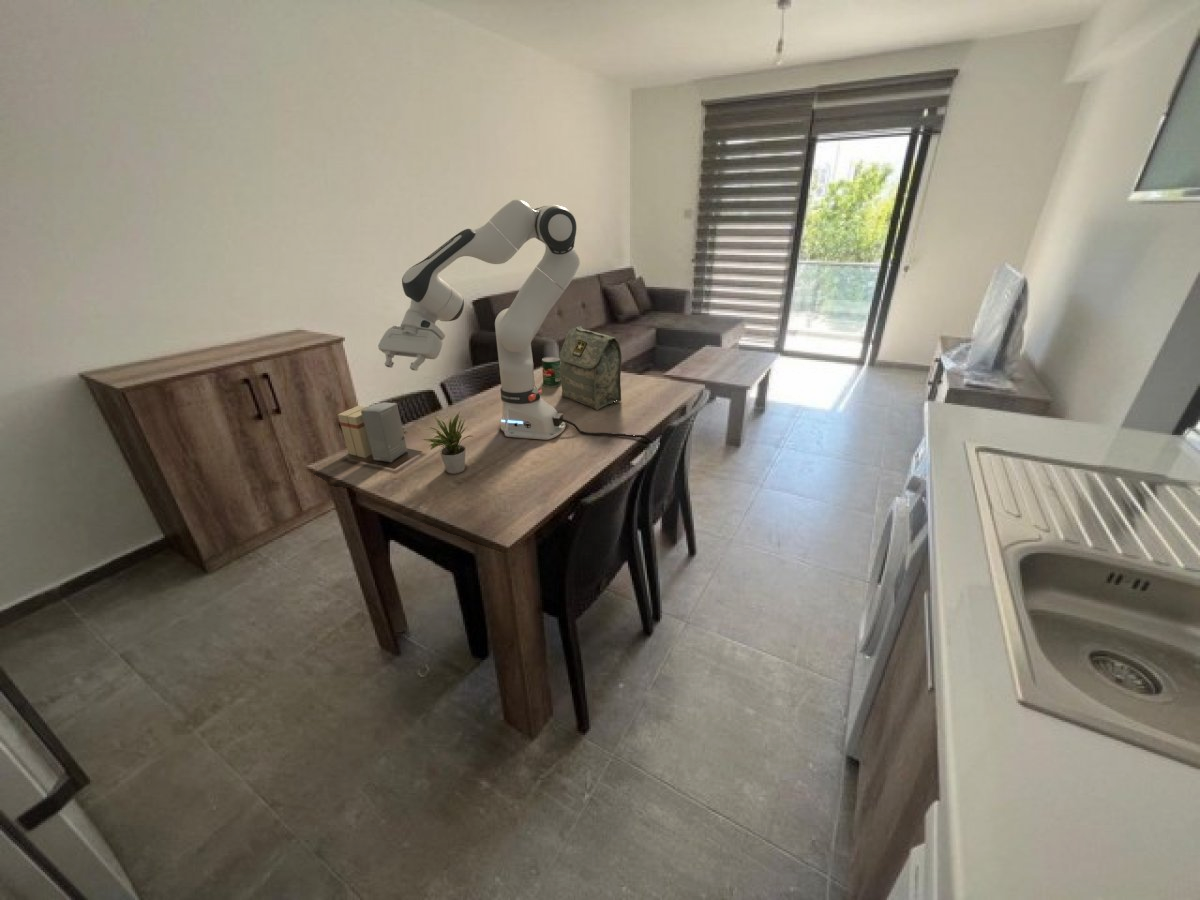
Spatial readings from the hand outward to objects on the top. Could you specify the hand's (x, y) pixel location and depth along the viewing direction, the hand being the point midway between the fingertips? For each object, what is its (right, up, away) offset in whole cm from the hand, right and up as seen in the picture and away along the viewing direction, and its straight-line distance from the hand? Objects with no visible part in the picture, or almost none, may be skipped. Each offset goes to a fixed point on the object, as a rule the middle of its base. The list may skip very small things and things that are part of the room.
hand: (400, 368), depth 141 cm
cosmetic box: (-4, -26, +3) cm, 27 cm away
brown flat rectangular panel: (-7, -27, +4) cm, 28 cm away
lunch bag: (+55, -4, +48) cm, 73 cm away
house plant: (+17, -29, -2) cm, 34 cm away
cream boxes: (-13, -24, +6) cm, 28 cm away
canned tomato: (+38, +4, +66) cm, 76 cm away
